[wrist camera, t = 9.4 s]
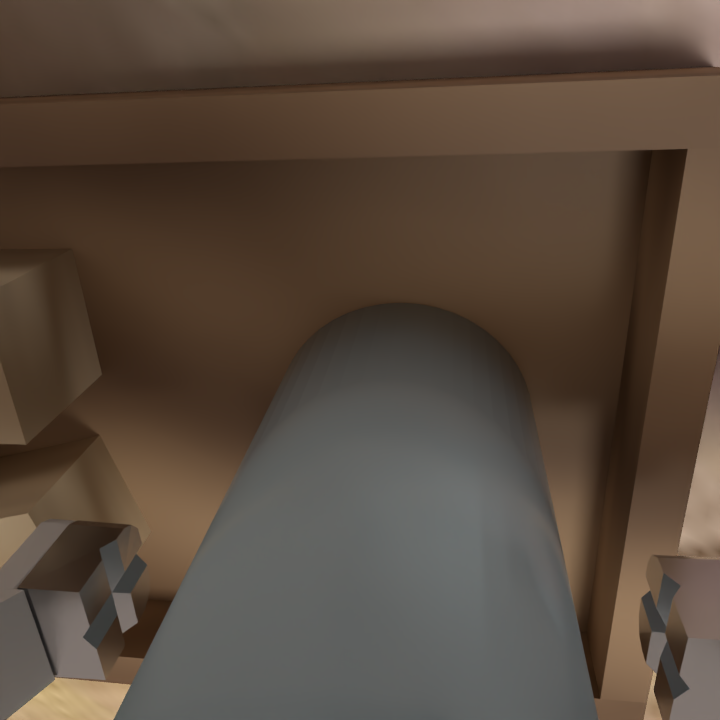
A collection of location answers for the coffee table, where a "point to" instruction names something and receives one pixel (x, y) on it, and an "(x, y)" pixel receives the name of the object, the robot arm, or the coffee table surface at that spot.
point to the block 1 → (41, 340)
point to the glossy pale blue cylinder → (379, 546)
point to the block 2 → (62, 491)
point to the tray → (393, 286)
